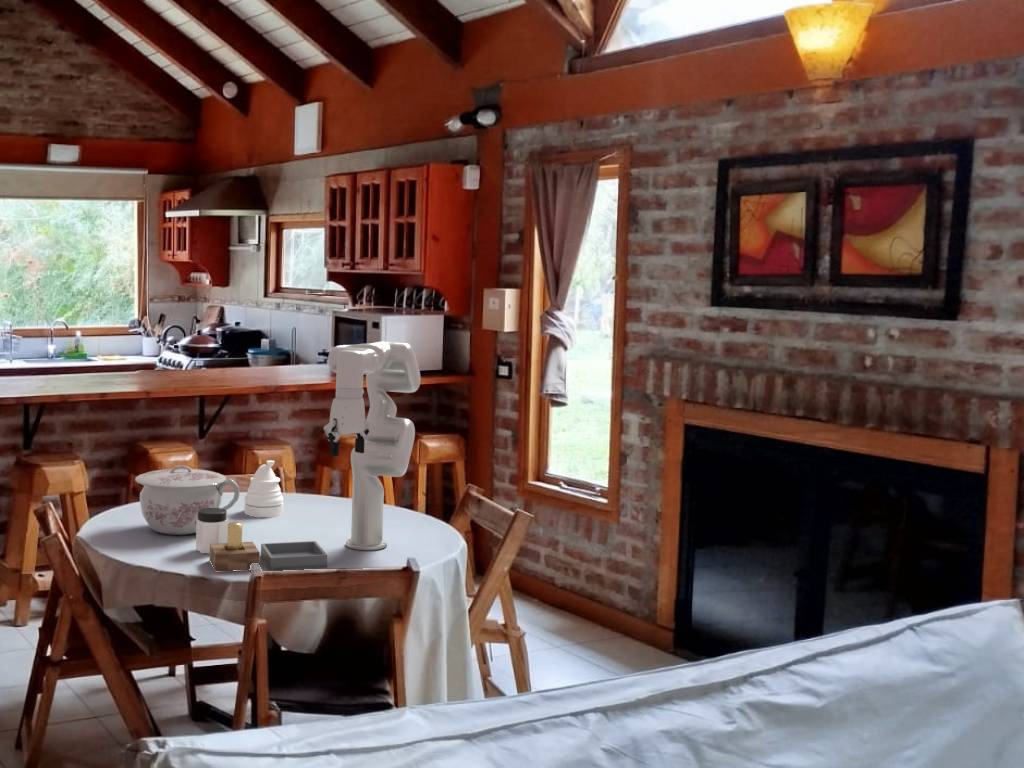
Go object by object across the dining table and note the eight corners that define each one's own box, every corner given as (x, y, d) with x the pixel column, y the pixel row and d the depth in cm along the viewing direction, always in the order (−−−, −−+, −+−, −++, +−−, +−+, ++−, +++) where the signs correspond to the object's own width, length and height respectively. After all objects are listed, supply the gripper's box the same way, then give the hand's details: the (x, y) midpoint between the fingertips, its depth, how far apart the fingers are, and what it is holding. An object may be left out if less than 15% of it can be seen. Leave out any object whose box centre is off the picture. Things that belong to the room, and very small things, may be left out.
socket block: (209, 560, 329) (209, 543, 328) (252, 558, 333) (252, 541, 333) (215, 572, 318) (215, 554, 317) (259, 569, 322) (259, 552, 322)
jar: (209, 545, 345) (209, 506, 344) (232, 549, 343) (233, 509, 341) (190, 552, 337) (191, 511, 336) (213, 556, 334) (214, 515, 333)
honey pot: (287, 510, 396) (289, 458, 394) (276, 518, 383) (277, 465, 381) (251, 507, 397) (252, 456, 395) (238, 516, 384) (239, 462, 382)
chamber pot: (114, 531, 356) (115, 465, 353) (179, 515, 380) (180, 454, 378) (183, 546, 343) (184, 477, 341) (245, 529, 367) (246, 465, 365)
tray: (260, 555, 337) (261, 543, 337) (315, 552, 343) (315, 541, 343) (270, 570, 323) (270, 558, 322) (327, 567, 329) (327, 555, 328)
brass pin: (225, 563, 327) (226, 522, 325) (240, 563, 328) (241, 521, 327) (227, 567, 323) (228, 525, 322) (242, 566, 325) (243, 525, 323)
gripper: (362, 391, 334) (359, 449, 335) (316, 394, 320) (314, 455, 322) (380, 393, 329) (378, 453, 331) (335, 397, 315) (333, 458, 317)
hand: (346, 454), depth 326 cm, fingers open, 9 cm apart
